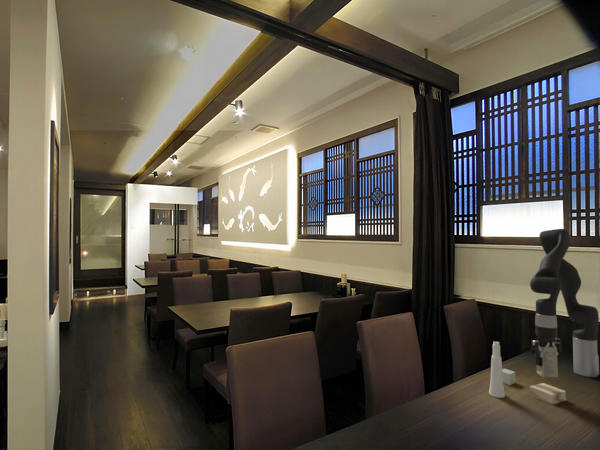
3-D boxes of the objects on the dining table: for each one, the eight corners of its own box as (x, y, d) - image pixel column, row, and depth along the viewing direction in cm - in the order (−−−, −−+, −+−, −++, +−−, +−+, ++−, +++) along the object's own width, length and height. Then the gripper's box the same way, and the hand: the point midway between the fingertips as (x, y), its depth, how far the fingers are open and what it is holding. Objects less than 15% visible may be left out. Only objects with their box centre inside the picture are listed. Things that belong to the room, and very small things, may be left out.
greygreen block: (504, 379, 165) (504, 368, 165) (515, 383, 160) (515, 371, 161) (498, 381, 162) (498, 370, 162) (509, 385, 158) (509, 374, 158)
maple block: (543, 392, 152) (543, 382, 152) (566, 401, 143) (565, 391, 144) (529, 395, 148) (529, 386, 148) (551, 405, 140) (551, 395, 140)
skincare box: (551, 373, 148) (551, 344, 148) (558, 377, 144) (557, 347, 144) (535, 372, 149) (535, 343, 149) (541, 377, 144) (541, 347, 145)
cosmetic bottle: (488, 396, 147) (488, 343, 148) (488, 390, 152) (488, 339, 153) (505, 399, 144) (504, 345, 145) (504, 393, 150) (504, 341, 150)
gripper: (550, 321, 152) (551, 360, 152) (524, 323, 148) (525, 363, 148) (567, 326, 145) (568, 366, 145) (541, 328, 141) (541, 369, 141)
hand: (546, 364), depth 146 cm, fingers closed on skincare box, 7 cm apart
